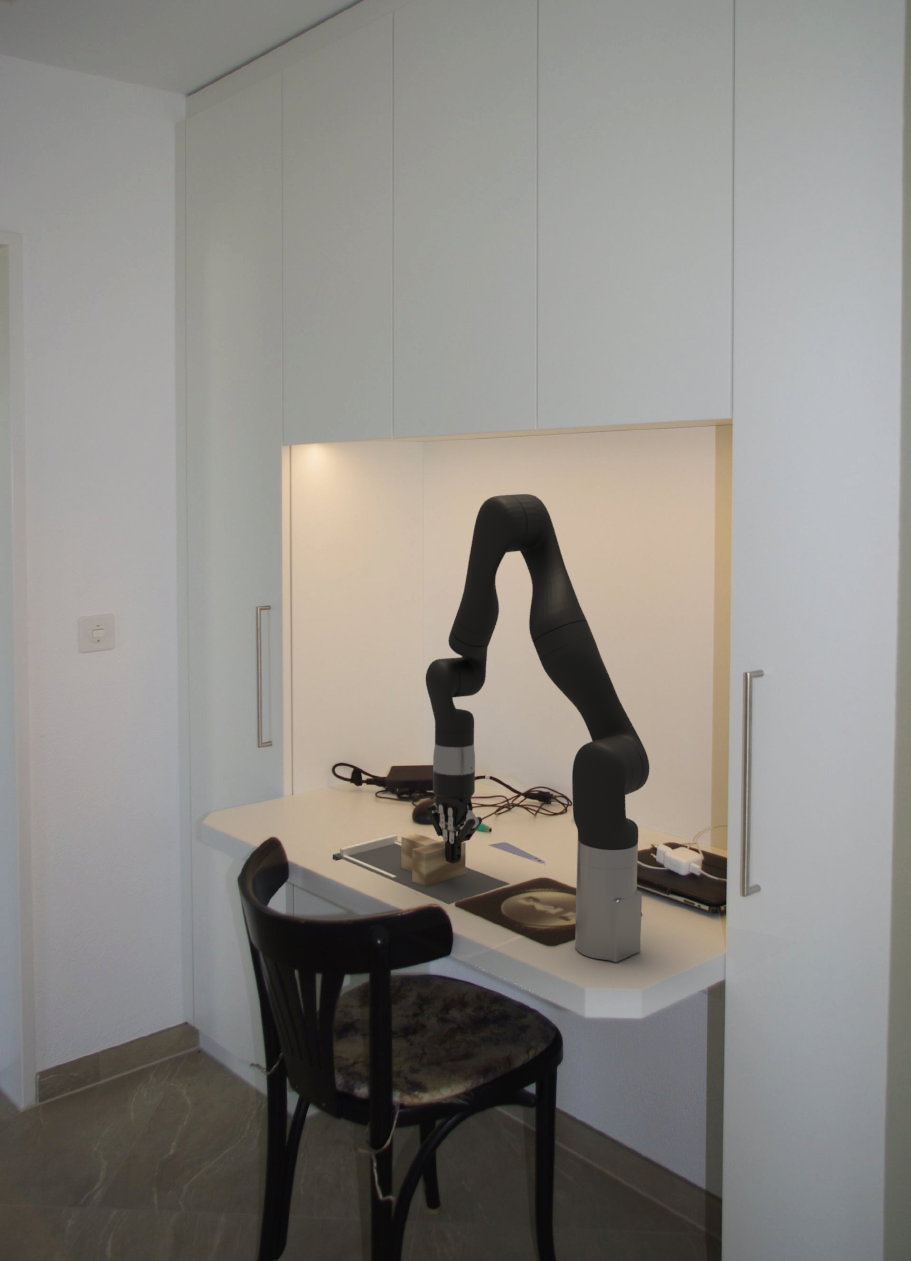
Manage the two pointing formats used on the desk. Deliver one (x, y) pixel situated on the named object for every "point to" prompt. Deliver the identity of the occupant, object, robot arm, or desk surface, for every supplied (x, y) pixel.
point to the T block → (429, 859)
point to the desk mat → (387, 863)
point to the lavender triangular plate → (516, 851)
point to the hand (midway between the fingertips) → (452, 861)
